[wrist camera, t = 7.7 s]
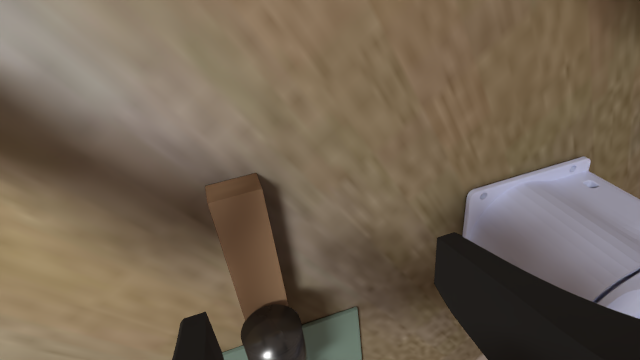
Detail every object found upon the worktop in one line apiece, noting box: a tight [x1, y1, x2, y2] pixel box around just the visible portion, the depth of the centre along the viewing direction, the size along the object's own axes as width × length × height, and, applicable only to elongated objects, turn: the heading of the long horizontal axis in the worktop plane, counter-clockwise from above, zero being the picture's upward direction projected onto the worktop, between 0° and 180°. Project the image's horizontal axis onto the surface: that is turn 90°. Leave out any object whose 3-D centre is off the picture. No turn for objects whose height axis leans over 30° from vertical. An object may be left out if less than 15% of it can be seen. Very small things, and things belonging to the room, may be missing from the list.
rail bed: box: [205, 173, 289, 321], centre depth 22 cm, size 3×10×2 cm, turn 6°
